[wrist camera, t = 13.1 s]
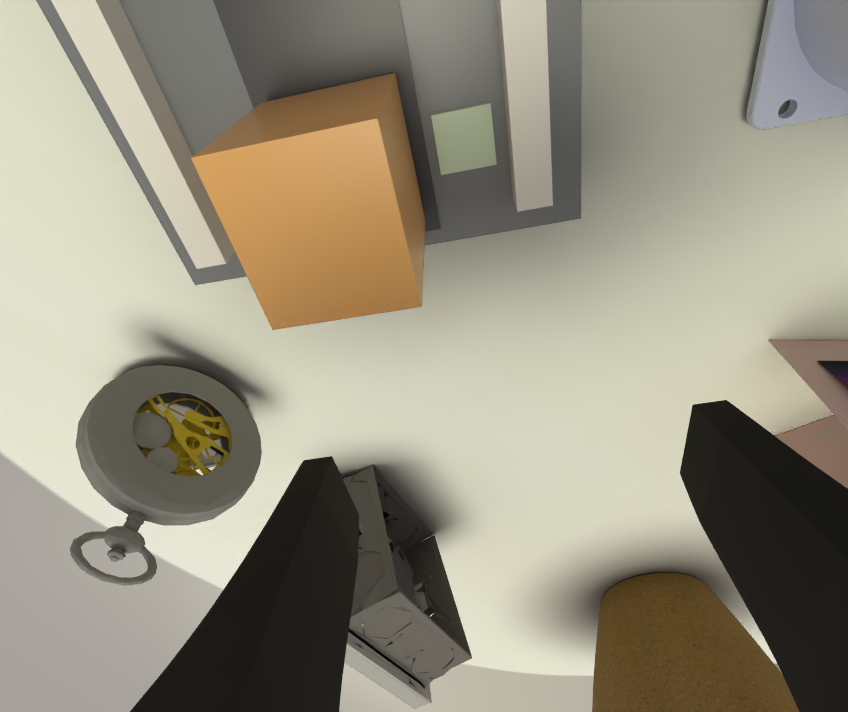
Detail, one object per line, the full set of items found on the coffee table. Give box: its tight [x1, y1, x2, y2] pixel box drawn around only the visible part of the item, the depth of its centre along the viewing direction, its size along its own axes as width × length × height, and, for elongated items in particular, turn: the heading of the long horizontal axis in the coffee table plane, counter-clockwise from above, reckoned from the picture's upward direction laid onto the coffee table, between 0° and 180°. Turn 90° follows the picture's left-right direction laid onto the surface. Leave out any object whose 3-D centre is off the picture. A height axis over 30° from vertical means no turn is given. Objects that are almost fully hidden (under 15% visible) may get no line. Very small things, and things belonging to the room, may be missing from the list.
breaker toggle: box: [191, 73, 425, 330], centre depth 12 cm, size 4×4×5 cm
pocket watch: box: [70, 365, 262, 585], centre depth 20 cm, size 8×8×10 cm
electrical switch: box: [343, 465, 472, 709], centre depth 25 cm, size 9×5×9 cm, turn 27°
